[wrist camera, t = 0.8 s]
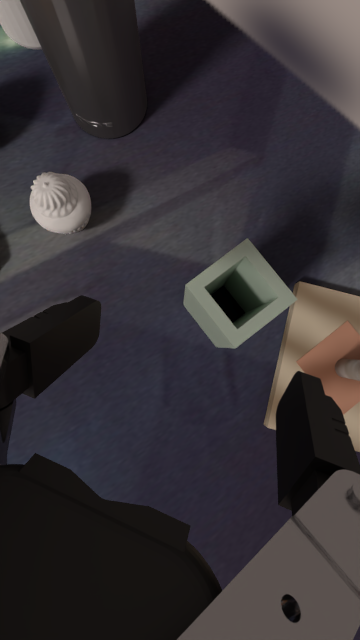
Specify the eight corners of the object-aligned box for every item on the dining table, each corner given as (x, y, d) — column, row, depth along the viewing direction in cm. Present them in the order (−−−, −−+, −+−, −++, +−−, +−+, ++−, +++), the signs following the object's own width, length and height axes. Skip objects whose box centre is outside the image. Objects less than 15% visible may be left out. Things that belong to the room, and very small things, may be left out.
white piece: (107, 202, 31) (86, 160, 24) (92, 251, 30) (66, 223, 23) (56, 188, 31) (21, 143, 24) (40, 237, 30) (-1, 205, 24)
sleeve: (183, 304, 30) (185, 284, 20) (224, 273, 30) (247, 238, 20) (216, 347, 29) (235, 348, 19) (258, 314, 30) (297, 299, 20)
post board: (294, 283, 30) (321, 270, 24) (407, 312, 30) (459, 304, 24) (263, 424, 29) (284, 443, 23) (381, 455, 28) (431, 482, 23)
